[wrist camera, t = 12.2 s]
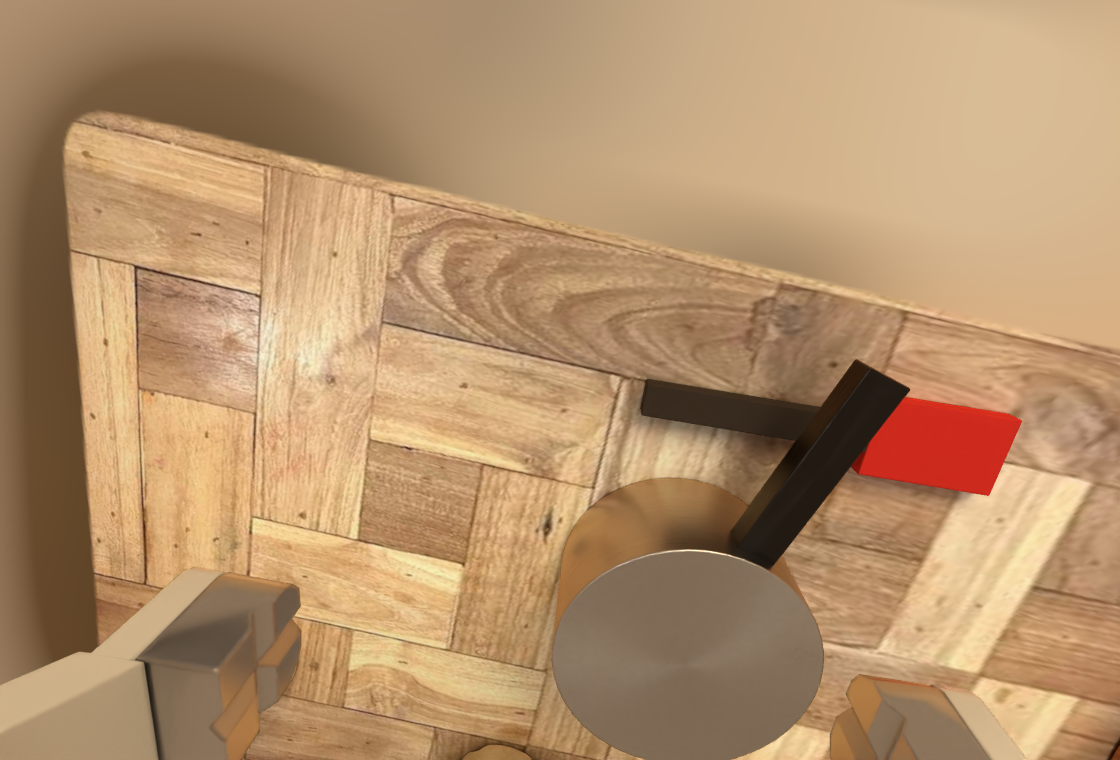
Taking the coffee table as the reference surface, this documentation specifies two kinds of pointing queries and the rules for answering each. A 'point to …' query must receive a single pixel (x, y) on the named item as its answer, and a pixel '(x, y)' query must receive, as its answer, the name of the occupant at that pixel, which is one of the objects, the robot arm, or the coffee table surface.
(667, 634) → the saucepan
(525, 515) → the coffee table surface
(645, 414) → the spatula
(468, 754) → the flower pot
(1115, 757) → the wooden box
